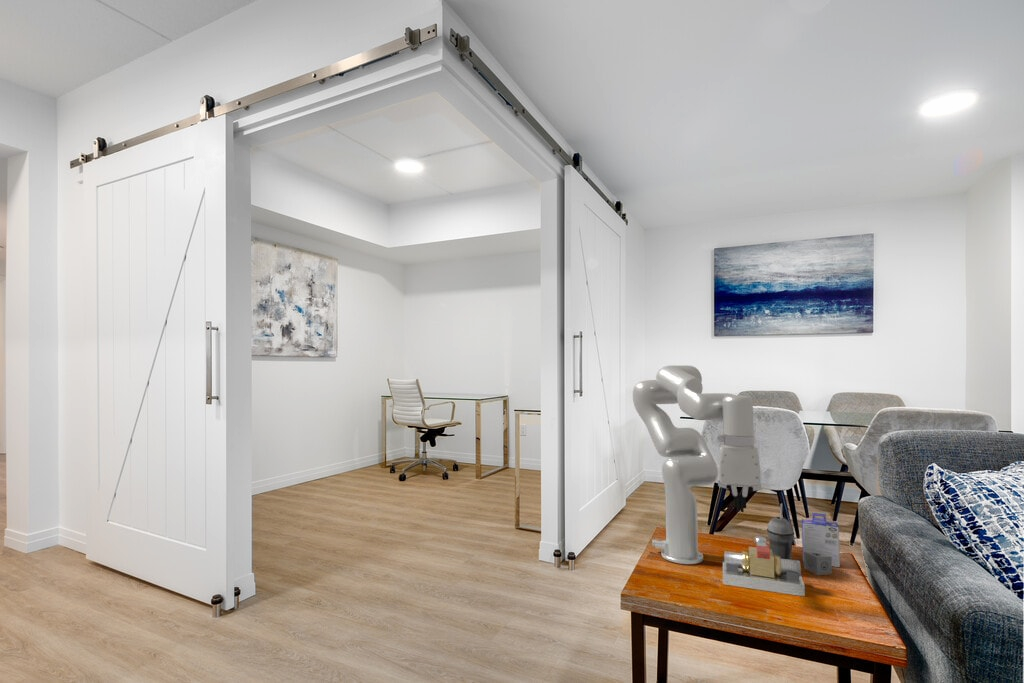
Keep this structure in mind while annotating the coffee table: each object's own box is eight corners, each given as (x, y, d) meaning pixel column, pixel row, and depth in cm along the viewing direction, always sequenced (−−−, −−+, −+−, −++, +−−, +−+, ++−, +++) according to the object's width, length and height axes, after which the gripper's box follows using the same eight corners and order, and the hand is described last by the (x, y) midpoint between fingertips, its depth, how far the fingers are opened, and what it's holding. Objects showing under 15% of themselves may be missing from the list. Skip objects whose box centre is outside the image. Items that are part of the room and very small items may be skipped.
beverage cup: (788, 566, 156) (787, 499, 156) (799, 576, 148) (798, 506, 149) (763, 565, 156) (762, 498, 157) (773, 575, 149) (771, 505, 150)
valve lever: (754, 541, 146) (754, 534, 146) (766, 542, 145) (766, 536, 145) (757, 557, 133) (757, 550, 134) (770, 559, 132) (770, 552, 132)
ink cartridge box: (838, 561, 159) (837, 514, 160) (841, 568, 154) (839, 519, 155) (801, 556, 163) (800, 510, 164) (803, 562, 158) (802, 515, 159)
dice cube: (804, 568, 154) (803, 551, 154) (818, 567, 155) (818, 550, 155) (817, 575, 149) (816, 557, 149) (831, 574, 150) (831, 556, 150)
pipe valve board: (722, 584, 143) (722, 544, 144) (722, 572, 151) (722, 534, 152) (804, 596, 136) (803, 554, 136) (800, 583, 144) (799, 543, 144)
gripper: (708, 441, 138) (709, 511, 137) (770, 445, 132) (772, 517, 131) (709, 438, 145) (710, 504, 144) (768, 441, 139) (770, 510, 138)
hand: (740, 510), depth 137 cm, fingers closed
